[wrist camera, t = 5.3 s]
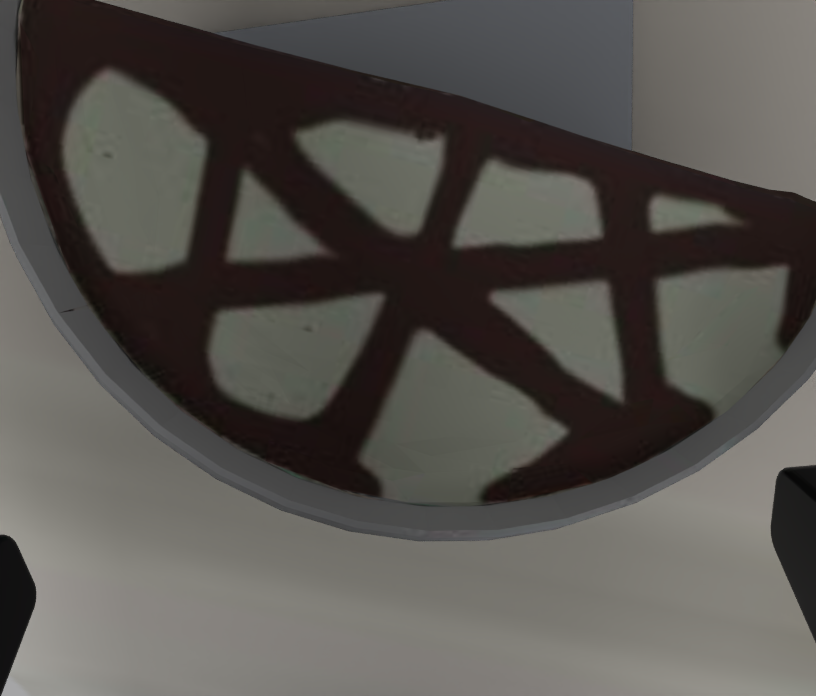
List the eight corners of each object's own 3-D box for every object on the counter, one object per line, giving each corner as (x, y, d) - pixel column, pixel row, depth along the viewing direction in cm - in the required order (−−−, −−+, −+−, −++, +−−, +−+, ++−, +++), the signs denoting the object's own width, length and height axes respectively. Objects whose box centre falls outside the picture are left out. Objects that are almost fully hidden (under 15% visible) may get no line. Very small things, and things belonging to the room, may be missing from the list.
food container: (119, 361, 18) (-186, 459, 8) (172, 125, 17) (-82, -89, 7) (572, 468, 19) (807, 673, 9) (633, 248, 18) (951, 207, 8)
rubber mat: (626, 244, 19) (630, 248, 18) (198, 292, 20) (194, 297, 19) (628, -25, 16) (633, -26, 16) (133, 44, 17) (127, 44, 17)
